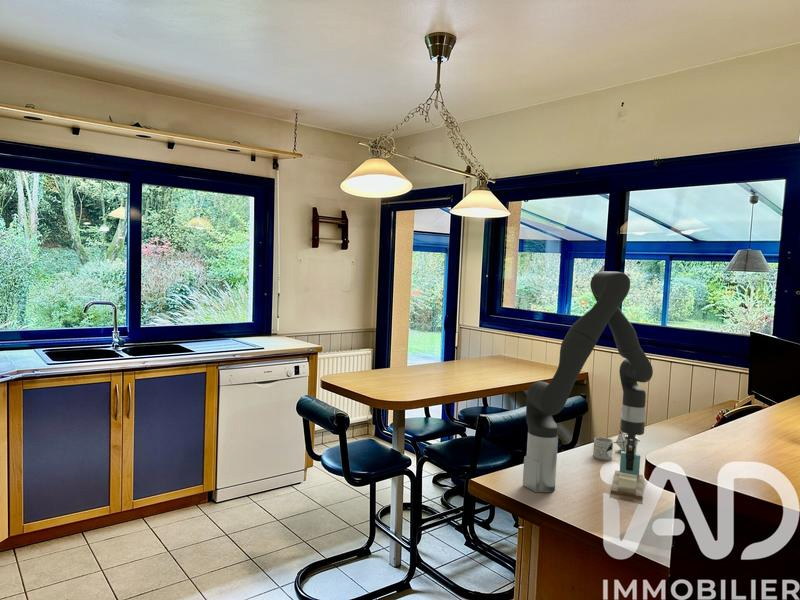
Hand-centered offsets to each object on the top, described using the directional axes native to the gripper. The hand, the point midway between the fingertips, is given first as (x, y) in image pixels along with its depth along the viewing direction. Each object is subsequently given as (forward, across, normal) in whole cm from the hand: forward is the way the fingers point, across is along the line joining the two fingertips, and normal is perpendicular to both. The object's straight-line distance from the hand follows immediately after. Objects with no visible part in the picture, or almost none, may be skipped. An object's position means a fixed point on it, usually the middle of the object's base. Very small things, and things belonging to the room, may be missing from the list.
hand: (629, 468), depth 177 cm
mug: (+3, +19, +10) cm, 22 cm away
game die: (+3, +30, +2) cm, 30 cm away
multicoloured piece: (+3, -12, 0) cm, 12 cm away
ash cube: (+2, -18, 0) cm, 18 cm away
